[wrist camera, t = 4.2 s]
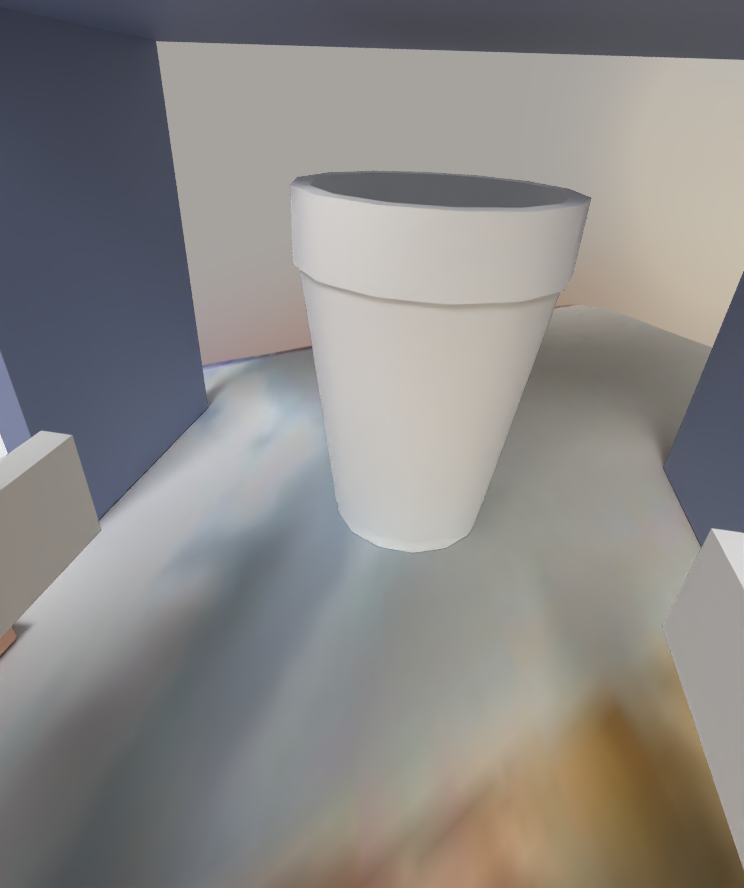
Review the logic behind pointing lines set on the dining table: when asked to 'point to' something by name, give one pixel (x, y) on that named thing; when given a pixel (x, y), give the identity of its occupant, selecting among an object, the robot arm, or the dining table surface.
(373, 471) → the foam cup
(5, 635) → the mat
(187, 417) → the rectangular arch
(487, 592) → the dining table surface
